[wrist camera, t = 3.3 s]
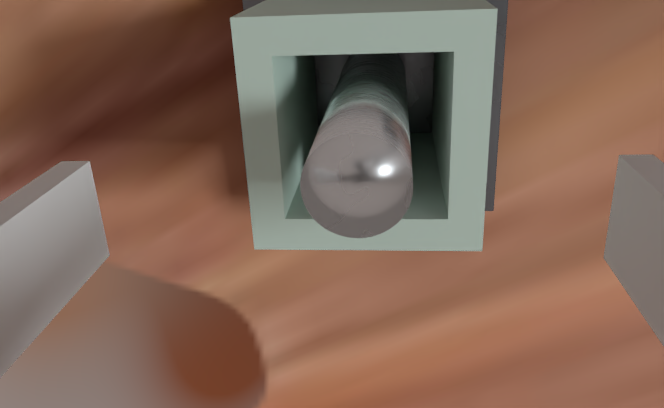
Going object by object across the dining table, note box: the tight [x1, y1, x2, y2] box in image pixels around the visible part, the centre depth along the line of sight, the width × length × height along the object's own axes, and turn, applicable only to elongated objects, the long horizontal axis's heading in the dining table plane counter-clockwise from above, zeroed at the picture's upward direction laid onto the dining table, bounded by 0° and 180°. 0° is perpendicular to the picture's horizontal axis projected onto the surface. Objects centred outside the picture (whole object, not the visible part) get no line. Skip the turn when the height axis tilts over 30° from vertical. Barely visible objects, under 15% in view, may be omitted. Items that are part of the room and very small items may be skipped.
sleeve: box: [230, 0, 498, 251], centre depth 24 cm, size 8×8×10 cm
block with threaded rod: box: [242, 0, 508, 238], centre depth 23 cm, size 14×12×16 cm
